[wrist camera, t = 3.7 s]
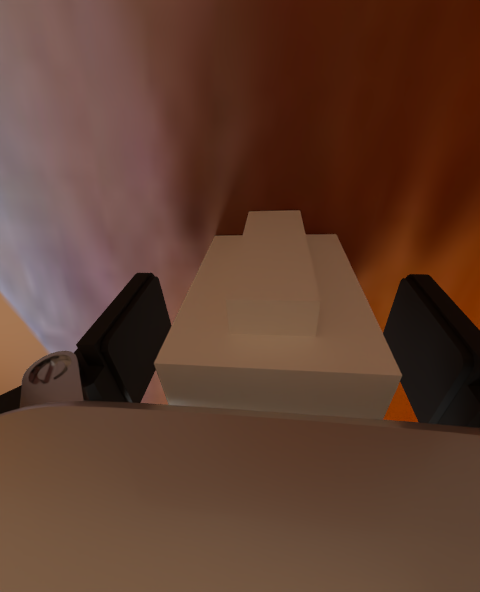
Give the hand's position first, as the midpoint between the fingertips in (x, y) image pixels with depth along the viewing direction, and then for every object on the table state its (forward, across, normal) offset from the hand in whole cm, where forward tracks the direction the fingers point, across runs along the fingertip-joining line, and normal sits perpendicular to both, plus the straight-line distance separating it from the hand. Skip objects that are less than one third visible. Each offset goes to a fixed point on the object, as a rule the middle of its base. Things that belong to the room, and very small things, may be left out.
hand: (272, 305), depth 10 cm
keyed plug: (+2, 0, 0) cm, 2 cm away
